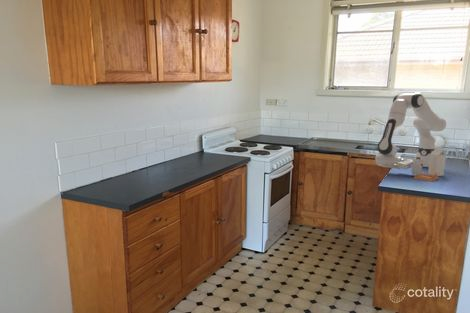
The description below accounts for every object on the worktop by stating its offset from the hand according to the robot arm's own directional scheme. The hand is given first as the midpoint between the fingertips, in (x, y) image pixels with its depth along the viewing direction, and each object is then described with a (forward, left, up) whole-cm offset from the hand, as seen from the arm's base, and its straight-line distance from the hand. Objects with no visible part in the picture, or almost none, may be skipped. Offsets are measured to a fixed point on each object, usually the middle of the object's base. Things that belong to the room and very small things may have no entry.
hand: (418, 165), depth 264 cm
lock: (0, -1, -6) cm, 6 cm away
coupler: (-1, +5, -8) cm, 10 cm away
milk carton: (-17, +7, -8) cm, 20 cm away
